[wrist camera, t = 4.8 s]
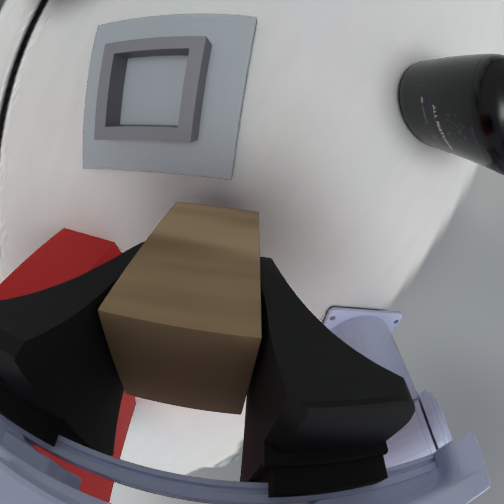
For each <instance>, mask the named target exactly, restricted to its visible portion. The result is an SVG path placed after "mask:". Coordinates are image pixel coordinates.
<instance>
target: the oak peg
mask: <svg viewBox="0 0 504 504" xmlns="http://www.w3.org/2000/svg"><path fill="white" fill-rule="evenodd" d="M98 313H99V317H100V320H101V324H102V327H103V331H104V334H105V337H106V340H107V343H108V347H109V350H110V353H111V356H112V358H113V361H114V364H115V367H116V370H117V372H118V375H119V377H120V380H121V383H122V385H123V388H124V390H125V392H126V394H128V395H132V396H136V397H140V398H144V399H148V400H152V401H157V402H161V403H166V404H171V405H176V406H181V407H187V408H193V409H199V410H206V411H213V412H221V413H230V414H241V413H242V409H243V406H244V402H245V398H246V395H247V391H248V388H249V384H250V380H251V376H252V373H253V369H254V365H255V361H256V358H257V354H258V350H259V346H260V342H261V338H262V336H261V286H260V244H259V212H254V211H247V210H240V209H232V208H225V207H217V206H209V205H201V204H192V203H183V202H176V204H175V205H174V206H173V207H172V208H171V210H170V211H169V212H168V213H167V215H166V216H165V217H164V218H163V220H162V221H161V222H160V223H159V225H158V226H157V227H156V228H155V230H154V231H153V232H152V234H151V235H150V236H149V237H148V239H147V240H146V241H145V243H144V244H143V245H142V247H141V248H140V249H139V251H138V252H137V253H136V255H135V256H134V258H133V259H132V260H131V262H130V263H129V264H128V266H127V267H126V269H125V270H124V271H123V273H122V274H121V276H120V277H119V279H118V280H117V282H116V283H115V284H114V286H113V287H112V289H111V290H110V292H109V293H108V295H107V296H106V298H105V299H104V301H103V302H102V304H101V305H100V307H99V309H98Z"/></svg>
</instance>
